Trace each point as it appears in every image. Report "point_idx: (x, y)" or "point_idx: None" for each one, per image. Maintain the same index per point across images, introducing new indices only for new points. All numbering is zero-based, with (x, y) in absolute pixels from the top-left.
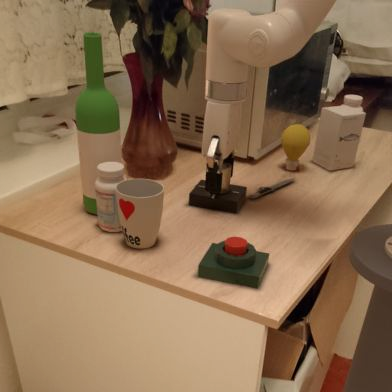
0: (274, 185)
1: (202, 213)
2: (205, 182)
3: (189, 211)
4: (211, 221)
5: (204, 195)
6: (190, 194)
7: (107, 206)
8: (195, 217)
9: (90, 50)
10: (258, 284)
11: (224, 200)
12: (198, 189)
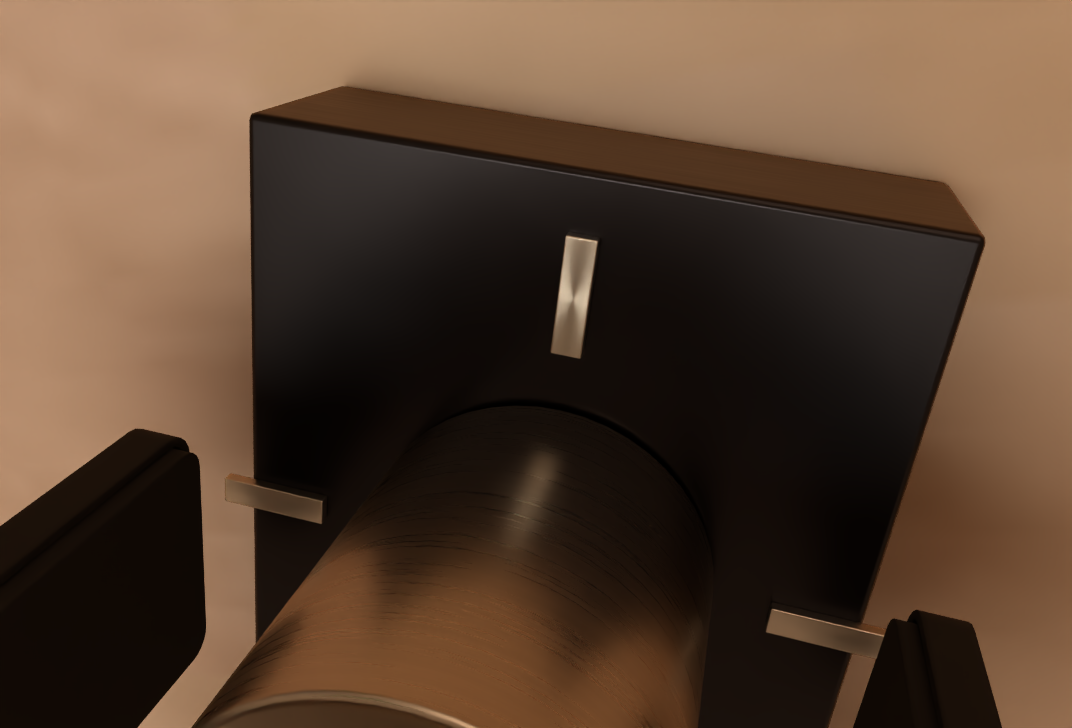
0: None
1: (186, 301)
2: (46, 494)
3: (170, 129)
4: (49, 415)
5: (269, 367)
6: (253, 135)
7: None
8: (54, 231)
9: None
10: None
11: (257, 618)
12: (463, 249)
